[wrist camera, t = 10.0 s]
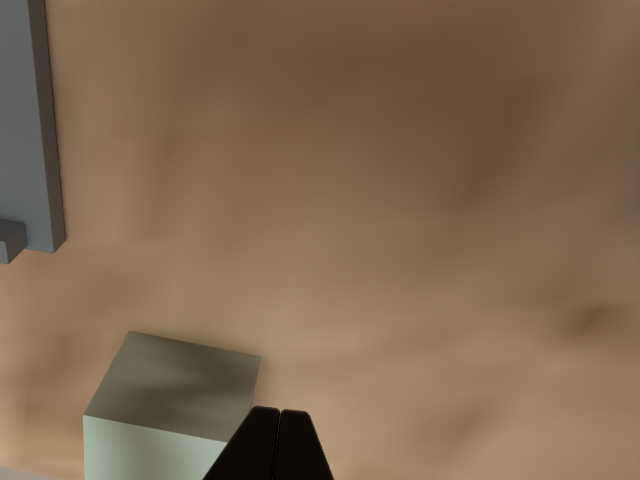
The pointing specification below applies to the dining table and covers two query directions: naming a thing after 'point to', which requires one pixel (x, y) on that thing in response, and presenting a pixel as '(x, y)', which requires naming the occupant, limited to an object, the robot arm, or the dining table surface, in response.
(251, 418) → the robot arm
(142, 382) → the sage block
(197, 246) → the dining table surface
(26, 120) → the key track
